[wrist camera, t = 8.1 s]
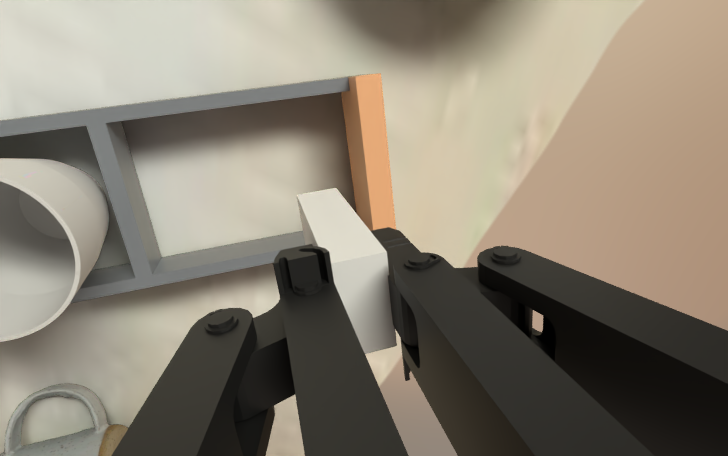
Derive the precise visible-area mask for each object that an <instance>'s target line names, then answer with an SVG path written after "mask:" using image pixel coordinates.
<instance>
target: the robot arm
mask: <svg viewBox="0 0 728 456" xmlns="http://www.w3.org/2000/svg"><path fill="white" fill-rule="evenodd" d="M297 199H298V205H299V210H300V216H301V222H302V227H303V233H304V239H305V244H306V245H304V246H299V247H294V248H289V249H284V250H280V252H279V253H278V254H277V256H276V257H275V259H274V262H273V265H274V270H275V275H276V280H277V284H278V289H279V294H280V300H279V302H278V304H277V305H276V306H275V307H274V308H272V309H271V310H269V311H268V312H266V313H264V314H262V315H260V316H258V317H255V318H253V317H252V314H251V313H250V312H249V311H248V310H245V309H242V308H228V309H220V310H216V311H215V312H214V311H213V312H211V313H209V314H207V315H206V316H205V317H203V318H201V319H200V320H198V321H197V322H196V323H195V324H194V325H193V326H192V327H191V329H190V331H189V332H188V334H187V335H186V337H185V339H184V340H183V342H182V343H181V345H180V347H179V348H178V350H177V351H176V353H175V355H174V356H173V358H172V359H171V361H170V363H169V364H168V366H167V367H166V369H165V371H164V372H163V374H162V375H161V377H160V379H159V380H158V382H157V384H156V385H155V387H154V388H153V390H152V392H151V393H150V395H149V396H148V398H147V400H146V401H145V403H144V404H143V406H142V408H141V409H140V411H139V412H138V414H137V416H136V417H135V419H134V420H133V422H132V424H131V425H130V427H129V428H128V430H127V432H126V433H125V435H124V436H123V438H122V440H121V441H120V443H119V444H118V446H117V448H116V449H115V451H114V452H113V454H112V456H265V455H266V451H267V446H268V442H269V438H270V434H271V429H272V425H273V421H274V417H275V410H274V405H276V404H277V403H279V402H281V401H283V400H285V399H287V398H289V397H291V396H293V395H294V394H295V395H296V401H297V407H298V414H299V420H300V426H301V432H302V439H303V445H304V451H305V456H408V454H407V451H406V449H405V447H404V444H403V442H402V440H401V437H400V435H399V433H398V430H397V428H396V426H395V423H394V421H393V419H392V416H391V414H390V412H389V409H388V407H387V405H386V402H385V400H384V398H383V395H382V393H381V391H380V388H379V386H378V384H377V381H376V379H375V377H374V374H373V372H372V370H371V367H370V365H369V363H368V360H367V358H366V356H365V354H367V353H371V352H375V351H379V350H382V349H386V348H390V347H394V346H397V343H396V333H395V329H396V331H397V332H398V334H399V336H400V337H401V346H402V356H403V366H404V374H405V380H406V381H407V380H410V378H409V373H410V371H412V373H413V375H414V377H415V378H416V381H417V382H418V384H419V386H420V388H421V390H422V391H423V393H424V395H425V397H426V399H427V401H428V402H429V404H430V406H431V408H432V410H433V411H434V413H435V415H436V417H437V418H438V420H439V422H440V424H441V426H442V428H443V429H444V431H445V433H446V435H447V437H448V439H449V440H450V442H451V444H452V446H453V447H454V449H455V451H456V453H457V455H458V456H728V331H727V330H724V329H722V328H719V327H717V326H714V325H712V324H709V323H707V322H704V321H702V320H699V319H697V318H694V317H692V316H689V315H687V314H684V313H682V312H679V311H677V310H674V309H672V308H669V307H667V306H664V305H661V304H659V303H657V302H654V301H652V300H649V299H647V298H644V297H642V296H639V295H637V294H634V293H631V292H629V291H626V290H624V289H621V288H619V287H616V286H614V285H611V284H609V283H606V282H604V281H601V280H599V279H596V278H594V277H591V276H589V275H586V274H584V273H581V272H579V271H576V270H574V269H571V268H569V267H566V266H564V265H561V264H559V263H556V262H553V261H551V260H549V259H546V258H543V257H541V256H538V255H536V254H533V253H531V252H528V251H526V250H522V249H519V248H515V247H508V246H501V247H500V246H496V247H493V248H491V249H486V250H484V251H483V252H481V253H480V254H479V255H478V258H477V259H478V260H477V261H478V267H472V268H454V267H453V266H451V265H450V264H449V263H448V262H447V261H446V260H445V259H444V258H443V257H441V256H439V255H437V254H432V253H421V252H420V251H419V250H418V249H417V248H416V247H415V246H414V245H413V244H412V243H410V241H409V240H408V239H407V238H406V237H405V236H404V235H403V234H402V233H401V232H400V231H398V230H395V229H393V228H390V227H387V228H382V229H377V230H372V231H370V230H369V229H368V227H367V226H366V225H365V224H364V222H363V221H362V220H361V219H360V217H359V216H358V215H357V214H356V212H355V211H354V210H353V209H352V207H351V206H350V205H349V204H348V202H347V201H346V200H345V198H344V197H343V196H342V195H341V193H340V192H339V191H338V190H337V188H332V189H326V190H321V191H315V192H310V193H304V194H298V195H297ZM533 310H534V311H536V312H538V313H540V314H542V315H543V317H544V318H543V331H542V332H539V331H537V330H535V329H533V328H532V313H533Z"/></svg>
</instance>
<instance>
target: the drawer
mask: <svg viewBox="0 0 728 456" xmlns="http://www.w3.org/2000/svg"><path fill="white" fill-rule="evenodd" d="M337 92H341V95H342V103H343V111H344V119H345V126H346V134H347V142H348V150H349V158H350V165H351V173H352V181H353V189H354V197H355V205H356V212H357V215H358V216H359V217H360V219H361V220H362V221H363V222H364V224H365V225H366V226H367V227H368V229H369V230H370V231H372V230H377V229H382V228H387V227H390V228H393V229H395V230H396V225H395V214H394V204H393V194H392V184H391V173H390V163H389V153H388V142H387V132H386V122H385V112H384V101H383V91H382V81H381V73H380V74H367V75H356V76H348V77H341V78H333V79H325V80H317V81H309V82H301V83H293V84H285V85H277V86H269V87H261V88H253V89H245V90H237V91H229V92H221V93H213V94H205V95H197V96H190V97H182V98H174V99H166V100H158V101H150V102H142V103H134V104H126V105H118V106H110V107H102V108H94V109H86V110H78V111H70V112H62V113H54V114H47V115H39V116H31V117H23V118H15V119H7V120H0V137H4V136H11V135H19V134H26V133H34V132H41V131H49V130H57V129H64V128H72V127H79V126H86V127H87V130H88V133H89V136H90V139H91V142H92V145H93V148H94V152H95V155H96V158H97V161H98V164H99V167H100V170H101V173H102V176H103V179H104V182H105V185H106V189H107V192H108V195H109V198H110V201H111V204H112V207H113V210H114V213H115V216H116V219H117V222H118V225H119V229H120V232H121V235H122V238H123V241H124V244H125V247H126V250H127V253H128V256H129V259H130V262H131V263H129V264H124V265H119V266H113V267H108V268H103V269H97V270H92V271H90V273H89V274H88V276H87V277H86V279H85V281H84V282H83V284H82V285H81V287H80V288H79V290H78V291H77V293H76V294H75V296H74V297H73V299H72V300H71V302H70V303H74V302H79V301H84V300H89V299H94V298H99V297H104V296H109V295H114V294H119V293H124V292H129V291H134V290H139V289H144V288H149V287H154V286H159V285H164V284H169V283H174V282H179V281H184V280H189V279H194V278H199V277H204V276H209V275H214V274H219V273H224V272H229V271H234V270H239V269H244V268H249V267H254V266H259V265H264V264H269V263H273V262H274V259H275V257H276V256H277V254H278V253H279V252H280V250H284V249H289V248H294V247H299V246H304V245H306V244H305V239H304V233H303V231H299V232H293V233H288V234H283V235H277V236H272V237H267V238H262V239H256V240H251V241H246V242H240V243H235V244H230V245H225V246H219V247H214V248H209V249H203V250H198V251H193V252H187V253H182V254H177V255H172V256H166V257H161V254H160V251H159V247H158V244H157V240H156V237H155V234H154V230H153V227H152V224H151V220H150V217H149V213H148V210H147V207H146V203H145V200H144V197H143V193H142V190H141V187H140V183H139V180H138V176H137V173H136V170H135V166H134V163H133V160H132V156H131V153H130V149H129V146H128V143H127V139H126V136H125V133H124V129H123V126H122V123H121V121H125V120H132V119H140V118H147V117H155V116H163V115H170V114H178V113H185V112H193V111H200V110H208V109H216V108H223V107H231V106H238V105H246V104H253V103H261V102H269V101H276V100H284V99H291V98H299V97H306V96H314V95H322V94H329V93H337Z"/></svg>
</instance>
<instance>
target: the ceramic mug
mask: <svg viewBox="0 0 728 456" xmlns="http://www.w3.org/2000/svg"><path fill="white" fill-rule="evenodd" d="M57 395H59V396H63V397H67V398H69V397H72V396H73V397H74V398H78V399H80V400H82V401H83V402H84V404H85V405H86V406H87V407H88V408H89V411H90V413H91V416H92V418H93V420H94V421H93V422H94V425H95V427H93V428H90V429H86V430H83V431H80V432H77V433H74V434H71V435H67V436H63V437H58V438H54V439H50V440H45V441H41V442H38V443H33V444H30V445H26V446H22V445H21V429H22V424H23V420H24V416H25V414H26V412H27V410H28V408H29V407H30V406H31V405H32V403H33V402H35V401H37V400H39V399H42V398H46V397H52V396H57ZM127 430H128V428H127V427H125V426H123V425H108V424H107V419H106V412H105V409H104V407H103V406H102V404H101V402H100V400H99V399H98V397H97V396H96V395H95V394H94V393H93V392H92V391H91V390H89V389H88V388H86V387H84V386H80V385H76V384H70V383H68V384H58V385H53V386H50V387H47V388H44V389H42V390H40V391H38V392H35V393H33V394H31V395H30V396H28V397H27V398H26V399H25V400H24V401H22V402H21V403H20V404H19V405H18V407H17V408H16V410H15V411H14V413H13V414H12V416H11V419H10V420H9V423H8V427H7V430H6V435H5V444H4V446H5V449H4V453H2V454H0V456H112V454H113V452H114V451H115V449H116V448H117V446H118V444H119V443H120V441H121V440H122V438H123V436H124V435H125V433H126V432H127Z"/></svg>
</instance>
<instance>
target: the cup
mask: <svg viewBox="0 0 728 456" xmlns="http://www.w3.org/2000/svg"><path fill="white" fill-rule="evenodd" d="M108 227H109V211H108V204H107V199H106V196H105V193H104V191H103V189H102V188H101V186H100V185H99V183H98V182H97V181H96V180H95V179H94V178H93V177H91V176H90V175H89V174H87V173H86V172H84V171H82V170H80V169H78V168H75V167H72V166H70V165H67V164H64V163H61V162H58V161H54V160H48V159H16V158H0V342H3V341H9V340H13V339H17V338H21V337H24V336H27V335H29V334H32V333H34V332H36V331H38V330H40V329H42V328H44V327H45V326H47V325H48V324H50V323H51V322H52V321H54V320H55V319H56V318H57V317H58V316H59V315H60V314H61V313H62V312H63V311H64V310H65V309H66V308H67V306H68V305H69V303H70V302H71V300H72V299H73V297H74V296H75V294H76V293H77V291H78V290H79V288H80V287H81V285H82V284H83V282H84V281H85V279H86V277H87V276H88V274H89V273H90V271H91V270H92V268H93V267H94V265H95V263H96V261H97V259H98V257H99V254H100V251H101V248H102V245H103V243H104V240H105V237H106V234H107V231H108Z"/></svg>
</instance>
